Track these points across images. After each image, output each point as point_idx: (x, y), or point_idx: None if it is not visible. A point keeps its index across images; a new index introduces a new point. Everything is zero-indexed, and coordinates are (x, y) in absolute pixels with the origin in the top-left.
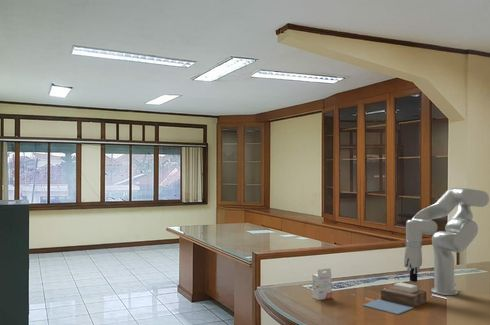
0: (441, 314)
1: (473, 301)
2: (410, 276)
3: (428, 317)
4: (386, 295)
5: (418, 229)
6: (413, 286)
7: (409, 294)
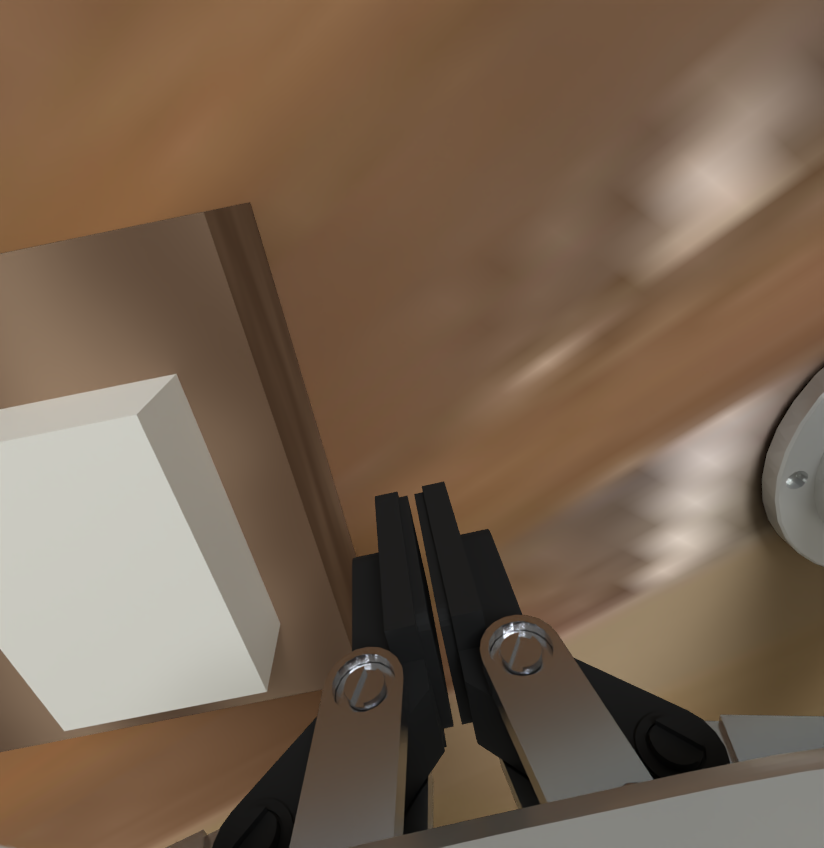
0: (183, 802)
1: (729, 711)
2: (385, 571)
3: (25, 811)
4: None
5: None
6: (161, 701)
7: (26, 689)
